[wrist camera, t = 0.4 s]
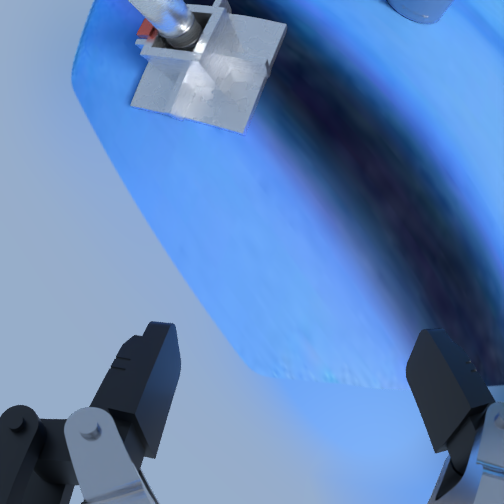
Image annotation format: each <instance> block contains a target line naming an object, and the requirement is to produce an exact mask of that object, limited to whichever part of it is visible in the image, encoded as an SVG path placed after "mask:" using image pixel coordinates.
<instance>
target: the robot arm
mask: <svg viewBox="0 0 504 504" xmlns="http://www.w3.org/2000/svg"><path fill="white" fill-rule="evenodd" d="M387 1H388V2H389V4H390V5H391V6H392V7H393V8H394V9H395V10H396V11H397V12H398V13H400V14H401V15H403V16H404V17H406V18H408V19H410V20H413V21H415V22H419V23H424V24H431V23H435V22H437V21H438V20H439V19H440V18H441V17H442V16H443V14H444V13H445V12H446V10H447V9H448V8H449V7H450V5H451V4H452V3H453V1H454V0H387ZM180 370H181V358H180V352H179V346H178V339H177V332H176V327H175V325H174V324H173V323H163V322H153V321H152V322H150V323H149V324H148V326H147V328H146V330H145V332H144V334H143V336H137V335H134V336H133V337H131V338H130V339H129V340H128V341H127V342H125V343H124V344H123V345H122V347H121V348H120V350H119V352H118V354H117V356H116V359H114V361H113V363H112V365H111V369H109V371H108V373H107V374H106V376H105V378H104V380H103V382H102V384H101V386H100V387H99V390H98V391H97V393H96V395H95V397H94V399H93V401H92V403H91V405H90V406H89V407H86V408H82V409H79V410H77V411H75V412H74V413H73V414H71V415H70V416H69V418H68V419H39V417H38V416H37V414H36V413H35V412H34V410H33V409H31V408H30V407H27V406H24V405H17V406H13V407H11V408H9V409H7V410H6V411H5V412H4V413H3V414H2V415H1V417H0V504H69V502H70V499H71V496H72V492H73V489H74V486H75V485H80V488H81V491H82V494H83V497H84V502H82V503H81V504H160V503H159V502H158V500H157V498H156V496H155V494H154V493H153V491H152V489H151V487H150V485H149V484H148V482H147V480H146V478H145V476H144V474H143V472H142V470H141V468H140V467H141V463H142V461H143V457H144V456H145V457H149V458H154V459H155V458H156V454H157V451H158V447H159V444H160V440H161V437H162V433H163V430H164V426H165V423H166V420H167V416H168V413H169V409H170V406H171V403H172V399H173V396H174V392H175V390H176V386H177V383H178V380H179V376H180ZM406 378H407V381H408V383H409V386H410V388H411V391H412V393H413V396H414V398H415V400H416V403H417V406H418V408H419V410H420V413H421V416H422V418H423V421H424V424H425V426H426V429H427V432H428V435H429V437H430V440H431V443H432V445H433V449H434V451H435V453H439V452H442V451H446V450H448V452H449V456H448V457H447V458H446V460H445V462H444V465H443V468H442V470H441V473H440V476H439V478H438V480H437V483H436V486H435V488H434V490H433V493H432V495H431V498H430V499H429V501H428V504H504V402H495V400H494V398H493V397H492V395H491V393H490V391H489V390H488V388H487V386H486V384H485V383H484V381H483V379H482V378H481V376H480V374H479V373H478V372H476V368H475V366H474V365H473V363H471V360H470V358H469V357H468V355H467V354H466V352H465V351H464V350H463V349H462V348H461V347H460V346H458V345H457V344H456V343H455V342H452V340H451V339H450V337H449V336H448V334H447V333H446V331H445V330H444V329H442V328H438V329H424V330H422V331H421V332H420V333H419V336H418V338H417V341H416V343H415V346H414V348H413V351H412V353H411V355H410V358H409V360H408V362H407V366H406Z"/></svg>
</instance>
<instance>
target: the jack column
mask: <svg viewBox="0 0 504 504" xmlns="http://www.w3.org/2000/svg"><path fill="white" fill-rule="evenodd" d="M128 1H129V2H130V3H131V4H132V5H133V6H134V7H135V8H136V9H137V10H138V11H139V12H140V13H141V14H142V15H143V16H144V17H145V18H146V19H147V20H148V21H149V22H150V23H151V24H152V25H153V26H154V27H155V28H156V29H157V30H158V32H159V34H160V35H161V36H162V37H164V38H165V39H166V40H167V41H168V43H169V44H170V45H171V46H172V47H173V48H175V49H176V50H182V51H189V52H193V51H194V49H195V47H196V45H197V43H198V41H199V39H200V37H201V35H202V33H203V30H202V27H201V25H200V24H199V23H198V22H197V21H196V19H195V17H194V14H193V13H192V12H191V11H190V10H189V9H188V7H187V6H186V4H185V3H184V1H183V0H128Z"/></svg>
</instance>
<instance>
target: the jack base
mask: <svg viewBox="0 0 504 504" xmlns="http://www.w3.org/2000/svg"><path fill="white" fill-rule="evenodd" d="M186 6H187V7H188V9H189V10H190V11H191V12H192V13H193V14H194V17H195V19H196V21H197V22H198V23H199V24H200V25H201V27H202V30H203V33H202V35H201V37H200V39H199V41H198V43H197V45H196V47H195V49H194V51H193V52H189V51H182V50H176V49H175V48H173V47H172V46H171V45H170V44H169V43H168V41H167V40H166V39H165V38H164V37H162V36H161V35H160V34H159V32H158V30H157V29H156V28H155V27H154V26H153V25H152V24H151V23H150V22H149V21H148V20H147V19H146V18H145V19H144V21H143V23H142V25H141V27H140V28H139V30H138V32H137V34H136V35H137V36H139V37H140V38H144V39H137V40H136V42H135V45H136V46H138V47H139V48H140V49H141V50H142V51H141V53H140V55H141V56H142V57H144V58H145V59H146V60H147V61H148V64H147V66H146V69H145V71H144V73H143V75H142V78H141V80H140V82H139V85H138V87H137V90H136V92H135V95H134V97H133V100H132V102H131V105H130V106H132V107H134V108H136V109H141V110H145V111H150V112H155V113H159V114H164V115H168V116H172V117H173V118H175V119H176V120H179V121H183V120H184V119H185V120H189V121H192V122H196V123H200V124H204V125H208V126H211V127H215V128H219V129H222V130H226V131H229V132H232V133H236V134H239V135H243V136H245V135H246V133H247V130H248V127H249V125H250V122H251V119H252V117H253V114H254V111H255V109H256V106H257V104H258V101H259V98H260V96H261V93H262V91H263V88H264V86H265V83H266V81H267V78H269V76H270V74H271V71H270V70H271V68H272V66H273V63H274V61H275V58H276V56H277V53H278V51H279V48H280V46H281V44H282V41H283V39H284V36H285V34H286V32H287V24H283V23H278V22H274V21H269V20H264V19H259V18H254V17H248V16H242V15H236V14H230V13H231V12H232V10H231V8H230V6H229V3H228V1H227V0H215V2H214V4H213V6H205V5H192V4H186Z"/></svg>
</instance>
